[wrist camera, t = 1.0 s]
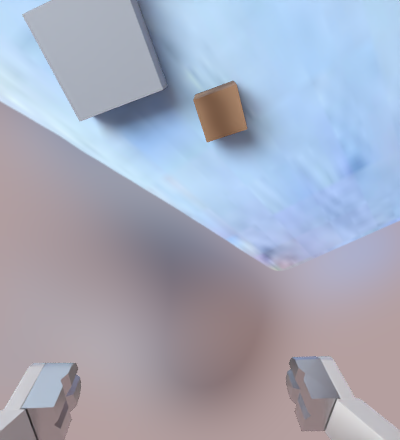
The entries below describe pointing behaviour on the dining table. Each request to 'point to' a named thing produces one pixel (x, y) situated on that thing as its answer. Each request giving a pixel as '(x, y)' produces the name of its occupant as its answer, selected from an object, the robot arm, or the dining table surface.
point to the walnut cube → (220, 111)
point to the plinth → (97, 52)
